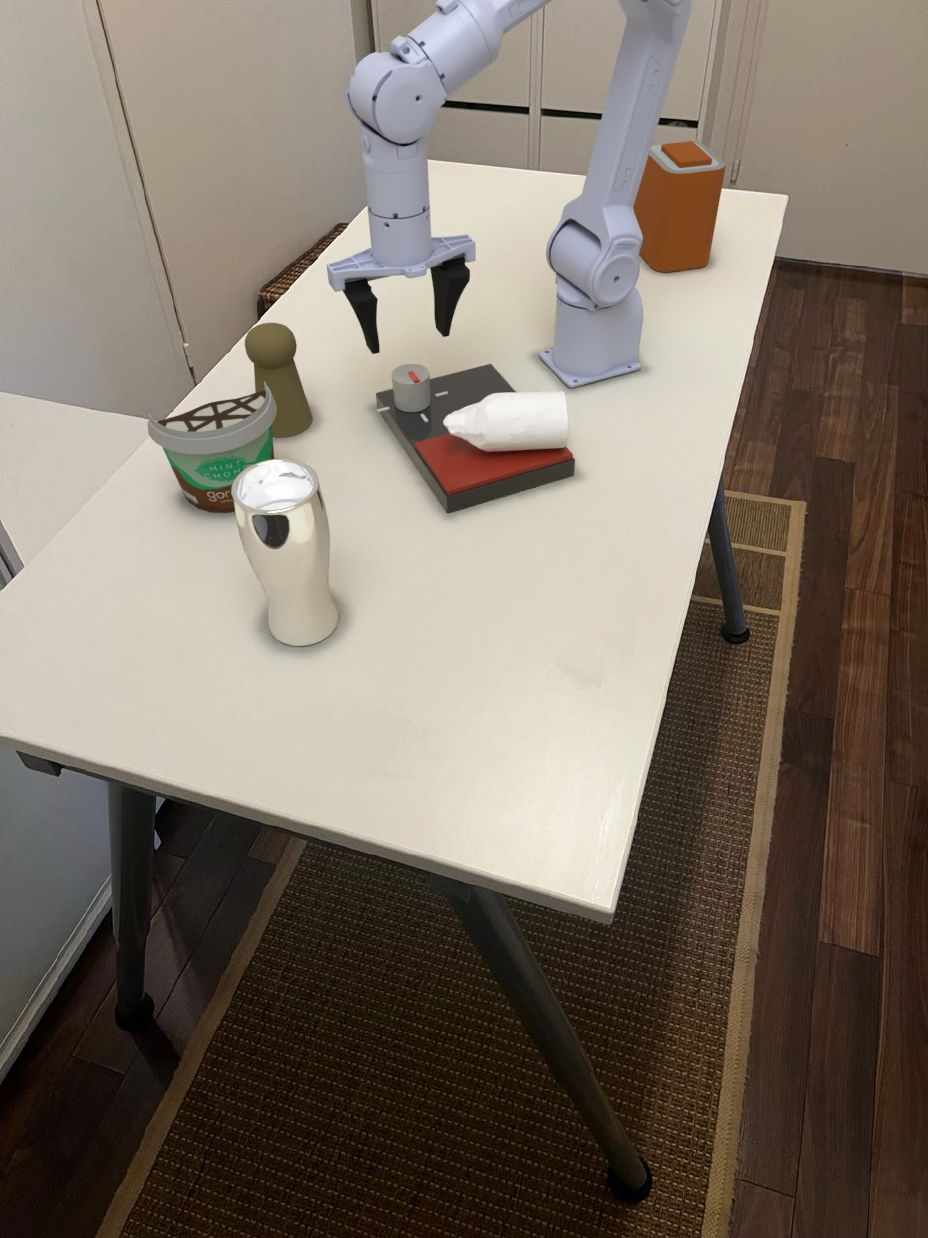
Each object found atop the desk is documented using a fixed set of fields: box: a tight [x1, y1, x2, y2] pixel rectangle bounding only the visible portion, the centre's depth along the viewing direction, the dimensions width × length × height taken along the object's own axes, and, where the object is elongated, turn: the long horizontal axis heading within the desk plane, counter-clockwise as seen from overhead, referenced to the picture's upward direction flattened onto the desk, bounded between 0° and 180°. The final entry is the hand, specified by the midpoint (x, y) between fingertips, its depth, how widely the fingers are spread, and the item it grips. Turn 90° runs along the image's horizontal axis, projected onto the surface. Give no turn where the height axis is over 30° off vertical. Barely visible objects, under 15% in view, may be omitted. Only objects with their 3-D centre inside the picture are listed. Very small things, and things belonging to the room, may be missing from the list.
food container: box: [147, 381, 277, 514], centre depth 89 cm, size 12×6×10 cm, turn 117°
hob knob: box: [391, 363, 431, 412], centre depth 99 cm, size 4×4×4 cm
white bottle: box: [443, 390, 570, 452], centre depth 91 cm, size 6×12×6 cm, turn 94°
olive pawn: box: [244, 322, 314, 438], centre depth 98 cm, size 6×6×11 cm
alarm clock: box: [633, 140, 726, 273], centre depth 124 cm, size 15×8×14 cm, turn 13°
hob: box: [375, 363, 576, 514], centre depth 98 cm, size 15×21×2 cm
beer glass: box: [231, 458, 340, 647], centre depth 75 cm, size 7×7×15 cm
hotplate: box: [415, 433, 574, 495], centre depth 93 cm, size 14×9×1 cm, turn 114°
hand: (408, 340), depth 95 cm, fingers open, 7 cm apart
